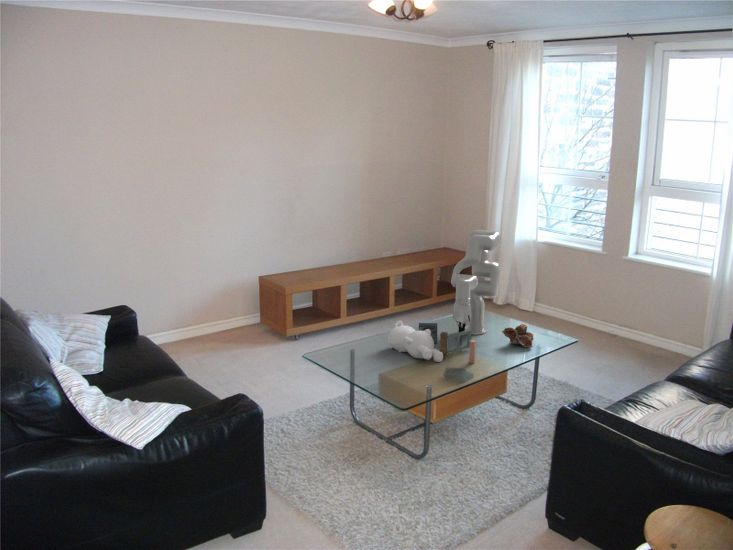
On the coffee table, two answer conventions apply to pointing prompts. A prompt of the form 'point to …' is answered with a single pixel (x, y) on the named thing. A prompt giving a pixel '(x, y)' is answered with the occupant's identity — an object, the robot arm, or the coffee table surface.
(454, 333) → the gate
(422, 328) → the small box
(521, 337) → the seed pod
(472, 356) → the post
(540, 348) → the coffee table surface
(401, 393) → the coffee table surface
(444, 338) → the gate post
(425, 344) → the teddy bear
